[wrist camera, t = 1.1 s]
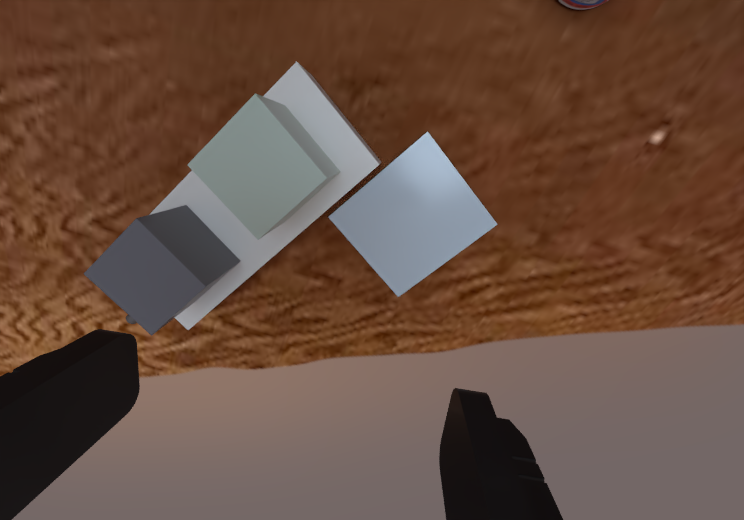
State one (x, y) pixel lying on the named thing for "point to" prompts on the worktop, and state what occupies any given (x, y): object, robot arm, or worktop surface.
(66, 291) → the worktop surface
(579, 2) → the pill bottle
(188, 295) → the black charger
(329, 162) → the block
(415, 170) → the blue tile
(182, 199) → the power strip
